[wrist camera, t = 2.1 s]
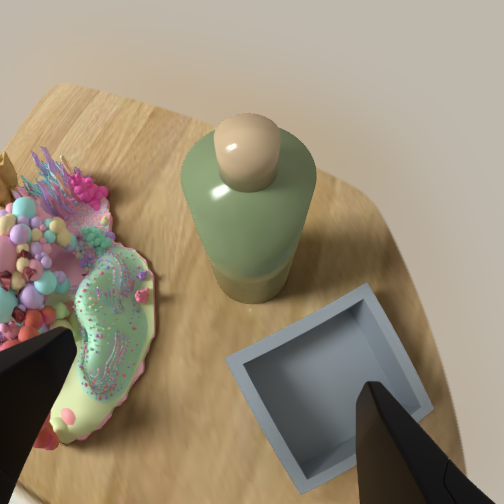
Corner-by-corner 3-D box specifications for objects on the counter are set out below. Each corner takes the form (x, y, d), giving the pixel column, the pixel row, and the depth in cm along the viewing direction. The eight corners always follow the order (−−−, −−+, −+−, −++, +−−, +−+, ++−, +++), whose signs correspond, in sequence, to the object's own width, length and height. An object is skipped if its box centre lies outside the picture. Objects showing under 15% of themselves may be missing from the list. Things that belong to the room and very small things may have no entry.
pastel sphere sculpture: (-50, 338, 21) (-105, 319, 12) (30, 165, 29) (-9, 117, 20) (107, 478, 17) (43, 514, 9) (211, 221, 25) (192, 147, 17)
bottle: (234, 316, 22) (203, 228, 9) (203, 252, 24) (153, 118, 11) (302, 283, 23) (355, 164, 10) (267, 223, 25) (276, 77, 12)
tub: (293, 475, 17) (300, 494, 14) (229, 360, 21) (224, 357, 17) (407, 405, 19) (434, 408, 15) (349, 297, 22) (367, 281, 19)
